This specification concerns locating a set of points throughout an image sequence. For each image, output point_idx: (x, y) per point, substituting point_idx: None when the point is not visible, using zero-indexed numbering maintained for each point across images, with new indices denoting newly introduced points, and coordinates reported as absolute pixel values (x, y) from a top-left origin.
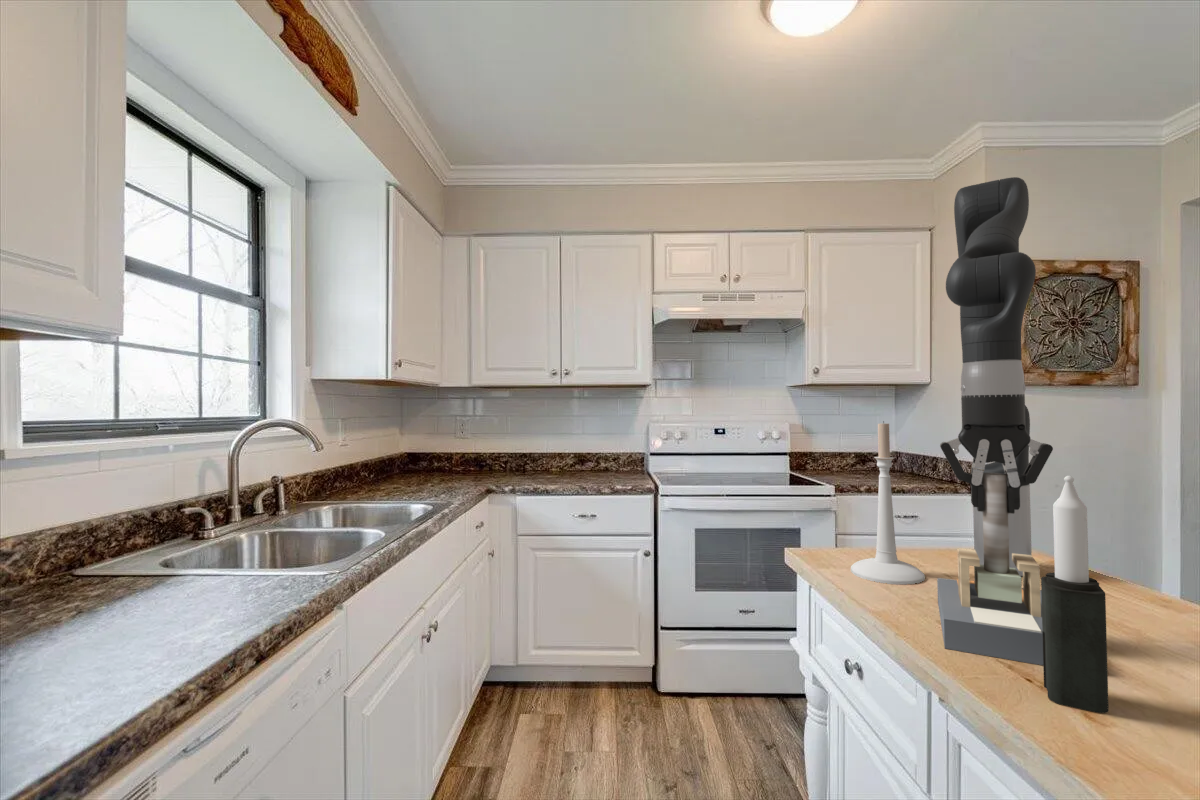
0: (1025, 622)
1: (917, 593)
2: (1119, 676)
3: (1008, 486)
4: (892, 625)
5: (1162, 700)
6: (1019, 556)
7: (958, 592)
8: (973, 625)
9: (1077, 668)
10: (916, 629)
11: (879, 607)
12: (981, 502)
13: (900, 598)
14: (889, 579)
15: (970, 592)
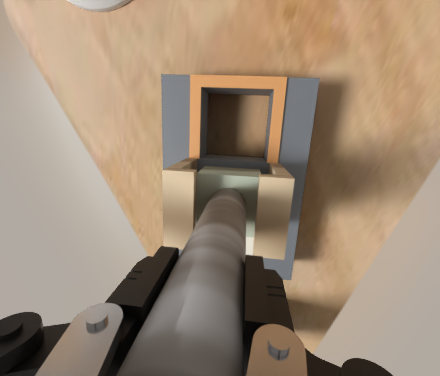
0: (248, 253)
1: (147, 49)
2: (319, 257)
3: (248, 358)
4: (126, 204)
5: (332, 293)
6: (267, 201)
7: (187, 151)
8: None
9: None
10: (149, 206)
11: (106, 145)
12: None
13: (126, 90)
14: (101, 6)
15: (212, 90)
